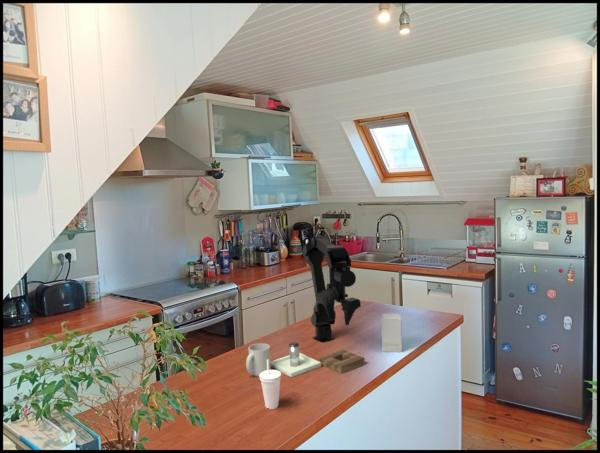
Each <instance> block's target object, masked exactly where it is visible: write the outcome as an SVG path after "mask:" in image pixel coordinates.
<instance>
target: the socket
mask: <svg viewBox="0 0 600 453" xmlns="http://www.w3.org/2000/svg"><path fill="white" fill-rule="evenodd" d="M319 362H321V366H323V367H324V368H327V369H330V370H332V371H333V372H336V373H339V374H340V375H341V374H345V373H347V372H349V371H351V370H354V369H357V368H359V367H361V366H364V365H365V357H363V356H360V355H358V354H355V353H353V352H351V351H348V350H345V349H342V348H341V349H338V350H336V351H333V352H331V353H328V354H325V355H321V356H319Z"/></svg>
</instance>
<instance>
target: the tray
mask: <svg viewBox="0 0 600 453" xmlns="http://www.w3.org/2000/svg"><path fill="white" fill-rule="evenodd" d="M299 357H300V365H299V366H297V367H292V366H290V354H289V355H286V356H283V357H280V358H277V359H275V360H274V359H273V360H270V363H271V369H273V370H277V371H280V372H281V374H283V375H286V376H287V377H290V378H293V377H296V376H299V375H302V374H305V373H307V372H309V371H314V370H316V369H319V368H321V367H322V365H321V362H320V360H316V359H314V358H312V357H310V356H308V355H305V354H303V353H301V352H299Z"/></svg>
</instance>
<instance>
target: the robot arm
mask: <svg viewBox="0 0 600 453" xmlns="http://www.w3.org/2000/svg"><path fill="white" fill-rule="evenodd" d="M302 254H303V255H302V256H303V257H304V260H305V263H307V265H308V266H309V267H310V272H311V278H312V285H313V291H314V296H315V304H314V306H313V313H312V316H311V317H310V322H311V325H312V326H314V328H315V332H314V333H315V336H312V340H316V341H317V342H320V343H325V342H328V341H331V340H334V339H335V337H334V336H333V335H332V332H333V331H332V325H335V323H336V317H337V316H336V315H337V314H336V311H335V304H336V303H339V304H341V305H340V306H341V308H340V309H341V311H343V316H344V317H343V318H344V325H345V326H349V325H350V322H351V320H352V318H353V315H354V313H355V312H356V310H357V309H359V308H361V307H362V306H361V300H360V299H359V298H356V297H349V294H348V293H346V288H349V287H352V286H353V285H354V284H355V283H356V280H357V277H356V274H355V273H354V271H352V270H351V267H352V259H351V257H350V255H349V251H348V250H347V249H346V247H345V246H343V245H336V244H334V243H332V242H331V241H330V240H328V239H326V237H325V236H313V237H312V238H311V239H310V240H309V241H308V242H306V243H305V244H304V246H303V248H302ZM324 259H325V261H326V262H327V267H328V268H329V269H328V274H329V275H328V276H329V277H328V278H329V283H325V279H324V278H325V277H324V272H323V266H322V265H323V264H322V263H323V261H324Z"/></svg>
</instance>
